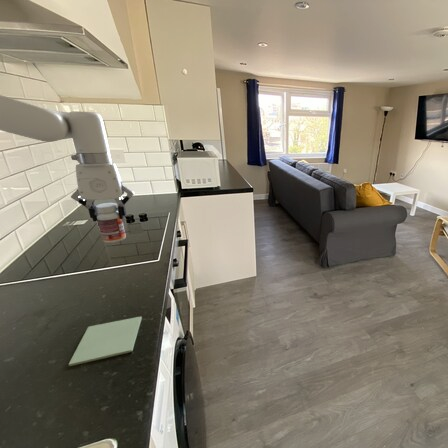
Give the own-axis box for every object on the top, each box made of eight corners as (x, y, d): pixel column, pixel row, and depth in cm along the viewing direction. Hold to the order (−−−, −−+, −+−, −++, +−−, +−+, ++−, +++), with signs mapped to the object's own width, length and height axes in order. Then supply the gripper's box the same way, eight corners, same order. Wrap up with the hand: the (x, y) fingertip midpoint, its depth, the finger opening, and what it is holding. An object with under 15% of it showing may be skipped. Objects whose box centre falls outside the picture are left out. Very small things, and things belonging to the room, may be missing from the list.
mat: (69, 366, 57) (68, 364, 56) (88, 328, 67) (88, 326, 67) (132, 351, 61) (131, 349, 60) (141, 318, 71) (141, 316, 71)
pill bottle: (127, 240, 82) (119, 205, 78) (103, 245, 78) (93, 209, 74) (125, 234, 87) (117, 201, 83) (102, 238, 83) (93, 203, 79)
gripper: (50, 161, 68) (70, 226, 74) (127, 160, 73) (139, 220, 80) (62, 158, 74) (80, 217, 80) (133, 157, 80) (143, 212, 86)
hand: (109, 218), depth 80 cm, fingers closed on pill bottle, 6 cm apart
